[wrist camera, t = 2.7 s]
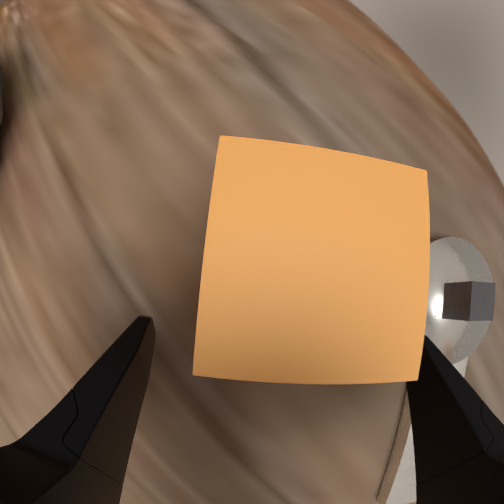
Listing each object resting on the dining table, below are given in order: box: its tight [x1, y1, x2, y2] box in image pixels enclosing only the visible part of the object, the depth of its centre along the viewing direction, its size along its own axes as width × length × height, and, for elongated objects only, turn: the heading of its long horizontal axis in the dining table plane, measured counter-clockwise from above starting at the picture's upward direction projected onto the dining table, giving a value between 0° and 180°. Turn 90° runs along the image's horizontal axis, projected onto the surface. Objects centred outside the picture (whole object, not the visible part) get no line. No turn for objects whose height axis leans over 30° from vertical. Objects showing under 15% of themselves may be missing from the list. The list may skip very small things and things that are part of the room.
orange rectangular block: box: [193, 136, 430, 384], centre depth 13 cm, size 6×6×12 cm
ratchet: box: [376, 237, 495, 504], centre depth 17 cm, size 22×9×5 cm, turn 174°
